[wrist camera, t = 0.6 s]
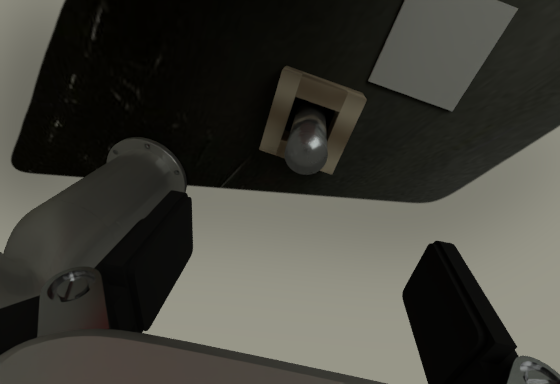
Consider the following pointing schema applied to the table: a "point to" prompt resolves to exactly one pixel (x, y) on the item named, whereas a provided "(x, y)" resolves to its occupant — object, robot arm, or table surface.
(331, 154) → the maple socket block
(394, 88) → the grey rubber mat
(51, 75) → the table surface
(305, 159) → the steel round peg
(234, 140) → the table surface
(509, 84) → the table surface
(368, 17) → the table surface
